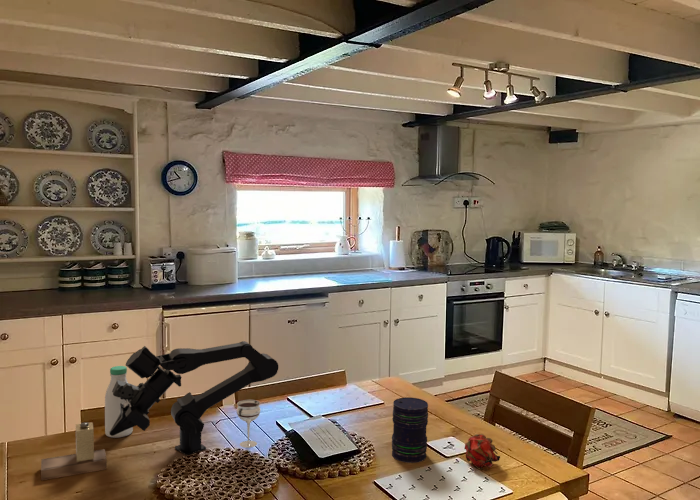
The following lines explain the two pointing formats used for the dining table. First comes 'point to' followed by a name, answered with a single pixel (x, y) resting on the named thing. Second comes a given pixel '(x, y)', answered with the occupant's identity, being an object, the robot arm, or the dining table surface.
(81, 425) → the beige rectangular block
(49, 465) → the body
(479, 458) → the dragon fruit
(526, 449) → the dining table surface
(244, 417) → the wineglass
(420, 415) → the dark blue cylinder
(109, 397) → the milk bottle
